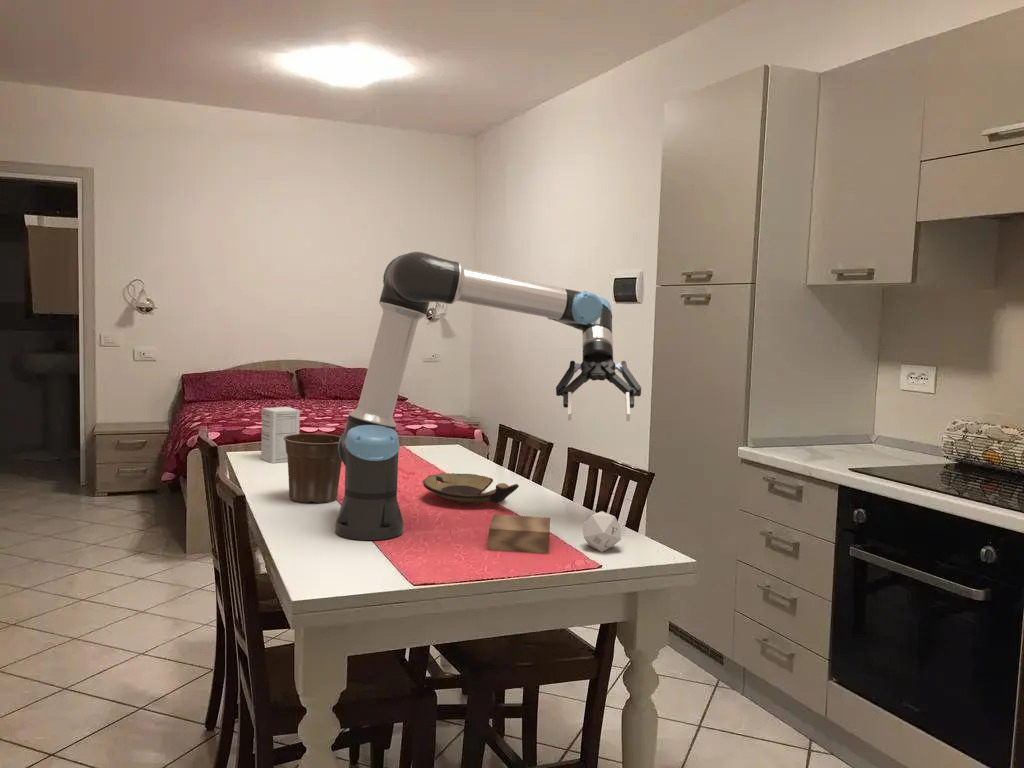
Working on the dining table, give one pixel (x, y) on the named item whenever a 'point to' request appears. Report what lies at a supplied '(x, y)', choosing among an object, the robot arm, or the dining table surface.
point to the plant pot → (313, 467)
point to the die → (601, 531)
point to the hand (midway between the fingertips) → (598, 417)
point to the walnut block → (519, 533)
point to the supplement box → (277, 432)
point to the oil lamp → (467, 488)
